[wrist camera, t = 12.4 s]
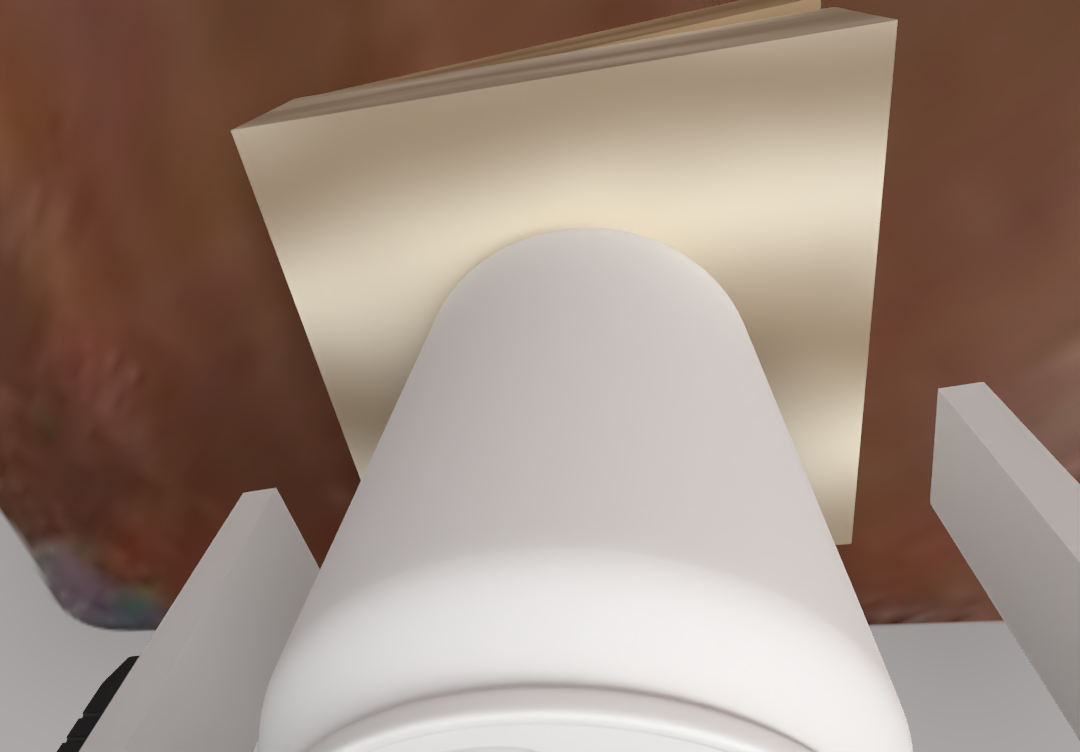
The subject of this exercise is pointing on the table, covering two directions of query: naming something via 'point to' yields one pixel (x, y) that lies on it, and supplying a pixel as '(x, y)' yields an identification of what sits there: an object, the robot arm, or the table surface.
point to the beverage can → (584, 538)
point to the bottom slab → (636, 32)
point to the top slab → (601, 202)
